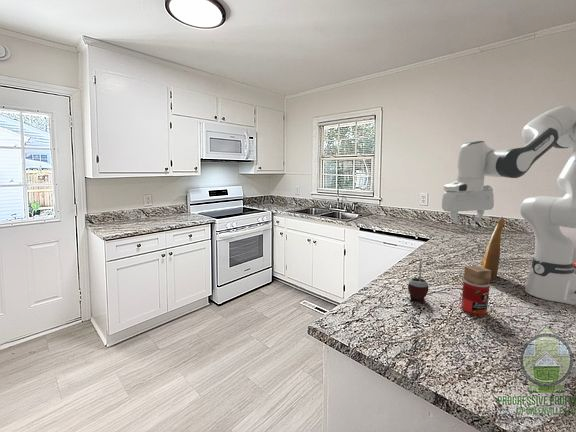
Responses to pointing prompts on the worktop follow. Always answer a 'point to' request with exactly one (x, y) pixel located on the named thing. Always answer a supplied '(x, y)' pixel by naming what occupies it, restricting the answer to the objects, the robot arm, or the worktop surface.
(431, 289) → the worktop surface
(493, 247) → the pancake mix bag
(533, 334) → the worktop surface
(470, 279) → the walnut block
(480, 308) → the canned food
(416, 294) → the mate gourd
